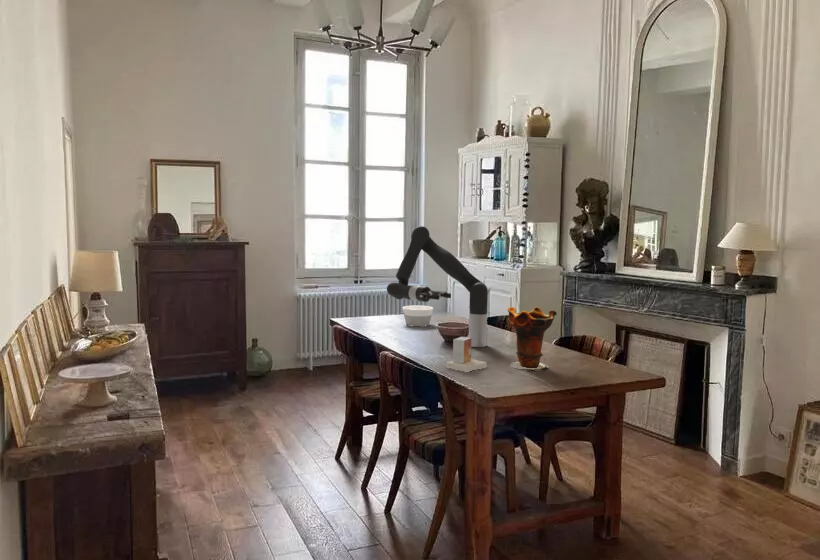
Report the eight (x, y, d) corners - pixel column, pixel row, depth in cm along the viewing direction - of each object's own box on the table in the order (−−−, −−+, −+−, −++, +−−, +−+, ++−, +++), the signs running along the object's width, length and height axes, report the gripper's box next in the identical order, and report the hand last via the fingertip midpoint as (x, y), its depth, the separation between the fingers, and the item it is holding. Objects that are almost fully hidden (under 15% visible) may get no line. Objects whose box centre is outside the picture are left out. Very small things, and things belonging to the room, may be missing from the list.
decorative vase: (564, 365, 301) (564, 305, 297) (532, 375, 286) (532, 312, 282) (527, 357, 317) (528, 300, 313) (496, 367, 302) (496, 307, 298)
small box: (463, 363, 292) (464, 340, 291) (452, 362, 295) (453, 339, 294) (471, 360, 299) (472, 337, 298) (460, 358, 302) (461, 336, 301)
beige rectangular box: (465, 363, 304) (466, 357, 304) (486, 367, 296) (486, 362, 296) (446, 367, 294) (446, 362, 294) (466, 372, 286) (467, 367, 286)
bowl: (400, 322, 412) (400, 305, 411) (430, 322, 415) (431, 305, 413) (403, 327, 393) (403, 309, 392) (435, 327, 396) (435, 310, 394)
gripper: (410, 287, 320) (435, 290, 309) (429, 285, 331) (454, 287, 319) (410, 302, 321) (434, 305, 310) (429, 299, 331) (454, 302, 320)
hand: (444, 296), depth 315 cm, fingers open, 8 cm apart
